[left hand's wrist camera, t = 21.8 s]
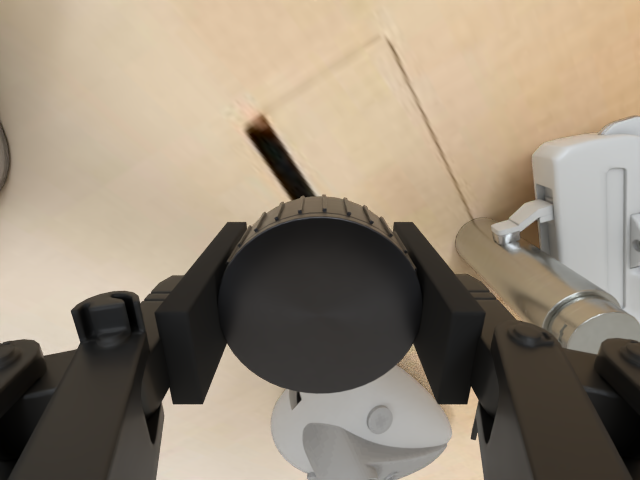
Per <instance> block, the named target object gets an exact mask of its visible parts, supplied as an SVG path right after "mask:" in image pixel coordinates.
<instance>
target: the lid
mask: <svg viewBox="0 0 640 480" xmlns="http://www.w3.org/2000/svg"><path fill="white" fill-rule="evenodd" d="M407 253H408V251H407V250H406V248H405V246H404V245H403V243H402V242H401V240H400V238H399V237H398V235H397V233H396V232H395V231H394V232H392V231H391V229H390V228H389V227H388V225H387V224H386V222H385V220H384V218H383V217H380V218H379V217H378V216H377V215H375V214H374V213H373V212H371V211H370V210H368V208H367V206H365V205H364V206H363V207H362V206H361V205H359V204H356V203H353V202H351V201H348V200H347V198H344V199H340V198H334V197H326V195H322V196H321V197H307V198H304V196H301V198H300V199H296V200H293V201H290V202H287V203H284V202H281V203H280V205H279V206H278V207H276V208H274V209H272V210H271V211H269V212H268V213H266V212H264V213H263V214H262V215H261V217H260V219H259V220H258V221H257V222H256V223H255V224H254V225H253V226H249V227H248V229H247V230H246V232H245V233H244V235H243V237H242V238H241V240H240V241H239V242H238V244H237V246H236V247H235V249H234V251H233V252H232V254H231V256H230V257H229V259H228V260H227V262H226V265H228V266H227V268H226V270H225V272H224V274H223V276H222V279H221V280H220V286H219V290H218V297H217V306H218V315H219V322H220V327H221V330H222V334H223V336H224V338H225V340H226V342H227V344H228V346H229V347H230V349H231V350H232V352H233V353H234V354H235V356H236V357H237V358H238V359H239V360H240V361H241V362H242V363H243V364H244V365H245V366H246V367H247V368H248V369H249V370H251V371H252V372H253V373H255V374H256V375H258V376H259V377H261V378H262V379H264V380H266V381H268V382H270V383H272V384H275V385H277V386H279V387H282V388H285V389H289V390H292V391H297V392H303V393H313V394H329V393H337V392H343V391H348V390H352V389H355V388H358V387H361V386H364V385H366V384H368V383H370V382H372V381H375V380H376V379H378V378H380V377H381V376H383V375H384V374H386V373H387V372H388V371H390V370H391V369H392V368H393V367H395V366H396V365H397V364H398V363H399V362H400V361H401V360H402V358H403V357H404V356H405V355H406V353H407V352H408V351H409V349H410V348H411V346H412V344H413V343H414V341H415V339H416V336H417V334H418V331H419V329H420V324H421V317H422V309H423V294H422V289H421V284H420V281H419V279H418V276H417V273H416V272H417V268H416V267H415V265H414V263H413V262H412V260H411V259H410V257H409V255H408V254H407Z"/></svg>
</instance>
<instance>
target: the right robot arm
mask: <svg viewBox="0 0 640 480" xmlns="http://www.w3.org/2000/svg"><path fill="white" fill-rule="evenodd" d="M532 168H533V179H534V190H535V200H533V201H530V202H526V203H524V204H523V205H522V206H521V207H520V208H519V209H518V210H517V211H516V212H515V213H514V214H513V215H511V216H510V217H509V218H508V219H509V220H505V221H502V222H499V223H495V224H493V225H491V230H492V237H493V240H494V241H496V242H497V244H500V245H505V244H508V243H509V242H516V241H519V240H520V232H521V231H522V230H524V229H525V228H526V227H527V226H529V225H530V224H531V223H533V222H534V221H535V220H536V221H537V223H538V233H539V244H540V250H542V251H543V252H545V253H547V254H548V255H550V256H551V257H553V258H554V259H556V260H558V261H559V262H561V263H562V264H564V265H565V266H567V267H568V268H570V269H572V270H573V271H575V272H576V273H578V274H579V275H581V276H583V277H584V278H586V279H587V280H589V281H590V282H592V283H593V284H595V285H597V286H598V287H600V288H601V289H603V290H604V291H606V292H608V293H609V294H611V295H612V296H613V297H614V298H615V299H616V300H617V301H618V303H619V305H620V307H621V309H623V310H624V311H626V312H627V313H629V314H630V315H632V316H633V317H635V318H636V319H637V321H638V322H639V324H640V116H630V117H626V118H623V119H620V120H617V121H614V122H611V123H609V124H607V125H606V126H605V127H603V128H602V129H601V131H600V132H597V133H588V134H580V135H574V136H569V137H564V138H559V139H555V140H551V141H548V142H545V143H543V144H541V145H540V146H539V147H538V148H537V150H536V151H535V152H534V153H533V154H532Z"/></svg>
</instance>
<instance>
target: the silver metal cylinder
mask: <svg viewBox="0 0 640 480" xmlns="http://www.w3.org/2000/svg"><path fill="white" fill-rule="evenodd" d="M495 223H498V222H497V221H495V220H493V219H490V218H477V219H473V220H471V221H469V222H468V223H466V224H465V225H464V226H463V227H462V228H461V229H460V231H459V232H458V234H457V237H456V249H457V252H458V253H459V255H460V256H461V257H462V258H463V259H464V260H465V261H466V262H467V263H468V264H469V265H470V266H471V267H472V268H473V269H474V271H475V272H476V273H477V274H478V275H479V276H480V277H481V278H482V279H483V280H484V281H485V282H486V283H487V284H488V285H489V286H490V287H491V288H492V289H493V290H494V291H495V292H496V294H497V295H498V296H499V297H500V298H501V299H502V300H503V301H504V302H505V303H506V304H507V305H508V306H509V307H510V308H511V309H512V310H513V311H514V312H515V313H516V314H517V315H518V316H519V318H520V319H521V320H522V321H523V322H527V323H531V324H534V325H536V326H539V327H541V328H543V329H545V330H546V331H548V332H549V333H551V334H552V335H554V336H555V338H556V339H557V340H558V341H559V342H560V344H561V346H562V347H563V348H567V349H572V350H577V351H582V352H587V353H592V354H598V351H599V348H600V345H601V343H602V342H603V341H604V340H606V339H610V338H622V339H632V340H636V341H638V342H640V324H639V322H638V321H637V319H636V318H635V317H633V316H632V315H630V314H629V313H627V312H626V311H624V310H623V309H621V307H620V305H619V303H618V301H617V300H616V299H615V298H614V297H613V296H612V295H611V294H609V293H608V292H606V291H604V290H603V289H601V288H600V287H598V286H597V285H595V284H593V283H592V282H590V281H589V280H587V279H586V278H584V277H583V276H581V275H579V274H578V273H576V272H575V271H573V270H572V269H570V268H568V267H567V266H565V265H564V264H562V263H561V262H559V261H558V260H556V259H554V258H553V257H551V256H550V255H548V254H547V253H545V252H543V251H542V250H540V249H539V248H537V247H536V246H534V245H532V244H531V243H529V242H528V241H526V240H525V239H523V238H522V237H520V240H519V241H516V242H509V243H508V244H505V245H500V244H497V242H496V241H494V240H493V237H492V230H491V225H493V224H495Z"/></svg>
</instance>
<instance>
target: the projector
mask: <svg viewBox="0 0 640 480" xmlns="http://www.w3.org/2000/svg"><path fill="white" fill-rule="evenodd" d="M271 432H272V437H273V440H274V443H275V445H276V447H277V449H278V450H279V452H280V454H281V455H282V456H283V457H284V458H285V459H286V460H287V461H288V462H289V463H290V464H291V465H293V466H294V467H296V468H297V469H299V470H301V471H302V472H305V473H308V475H307V479H308V480H397V479H400V478H402V477H405V476H407V475H410V474H412V473H414V472H416V471H418V470H420V469H422V468H424V467H426V466H427V465H429V464H430V463H432V462H433V461H434V460H435V459H436V458H437V457H439V455H440V454H441V453H442V452H443V451H444V450H445V448H446V446H447V443H448V441H449V440H450V438H451V436H452V429H451V425H450V422H449V419H448V417H447V415H446V414H445V412H444V410H443V409H442V408H441V406H440V405H439V404H437V402H436V400H435V399H434V398H433V396H432V395H431V394H430V393H429V392H428V391H427V390H426V389H425V388H424V387H423V386H422V385H421V384H420V383H419V382H418V381H417V380H416V379H414V378H413V377H412V376H411V375H409V374H408V373H407V372H406V371H404V370H403V369H402V368H400V367H399V366H398V365H396V366H395V367H393V368H392V369H391V370H390V371H388V372H387V373H386V374H384V375H383V376H381V377H380V378H378V379H376V380H375V381H372V382H370V383H368V384H366V385H364V386H361V387H358V388H355V389H352V390H348V391H343V392H337V393H329V394H313V393H303V392H297V391H292V390H289V389H285V390H284V392H283V393H282V394H281V396H280V397H279V399H278V400H277V402H276V404H275V406H274V409H273V412H272V416H271Z"/></svg>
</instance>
